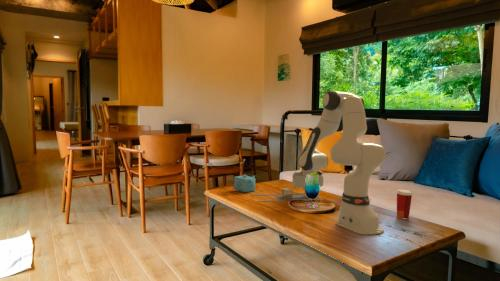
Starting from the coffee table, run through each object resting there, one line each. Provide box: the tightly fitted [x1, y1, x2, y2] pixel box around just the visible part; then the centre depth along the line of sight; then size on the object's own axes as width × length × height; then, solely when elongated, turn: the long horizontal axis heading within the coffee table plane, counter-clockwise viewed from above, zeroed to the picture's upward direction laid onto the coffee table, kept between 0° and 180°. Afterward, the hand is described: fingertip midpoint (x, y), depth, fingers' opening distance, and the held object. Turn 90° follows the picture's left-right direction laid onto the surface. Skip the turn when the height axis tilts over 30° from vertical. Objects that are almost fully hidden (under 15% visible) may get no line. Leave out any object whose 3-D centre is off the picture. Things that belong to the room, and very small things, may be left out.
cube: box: [281, 187, 294, 198], centre depth 203 cm, size 5×5×5 cm
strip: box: [273, 194, 319, 201], centre depth 204 cm, size 11×26×6 cm, turn 107°
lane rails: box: [249, 192, 321, 203], centre depth 202 cm, size 14×40×1 cm, turn 107°
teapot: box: [233, 174, 256, 193], centre depth 216 cm, size 16×18×11 cm
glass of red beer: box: [395, 189, 413, 219], centre depth 172 cm, size 8×8×14 cm
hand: (307, 193), depth 207 cm, fingers closed
